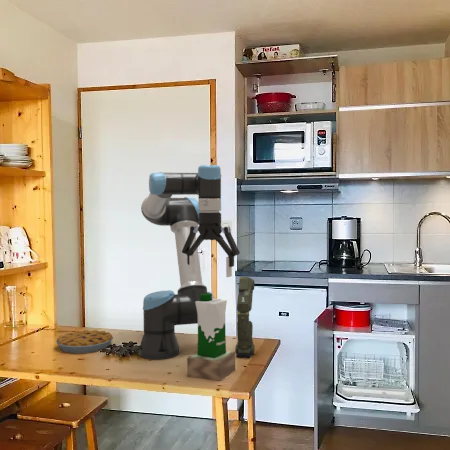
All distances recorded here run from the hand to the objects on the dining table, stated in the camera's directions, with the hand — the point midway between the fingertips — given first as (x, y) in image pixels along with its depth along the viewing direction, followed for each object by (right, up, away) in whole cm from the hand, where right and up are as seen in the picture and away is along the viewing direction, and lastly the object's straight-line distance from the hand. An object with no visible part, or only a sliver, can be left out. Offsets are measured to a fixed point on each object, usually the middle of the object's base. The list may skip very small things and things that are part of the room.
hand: (210, 275), depth 171 cm
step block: (0, -33, +1) cm, 33 cm away
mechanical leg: (+13, -32, +23) cm, 41 cm away
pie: (-51, -32, +35) cm, 70 cm away
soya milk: (0, -27, +1) cm, 27 cm away
